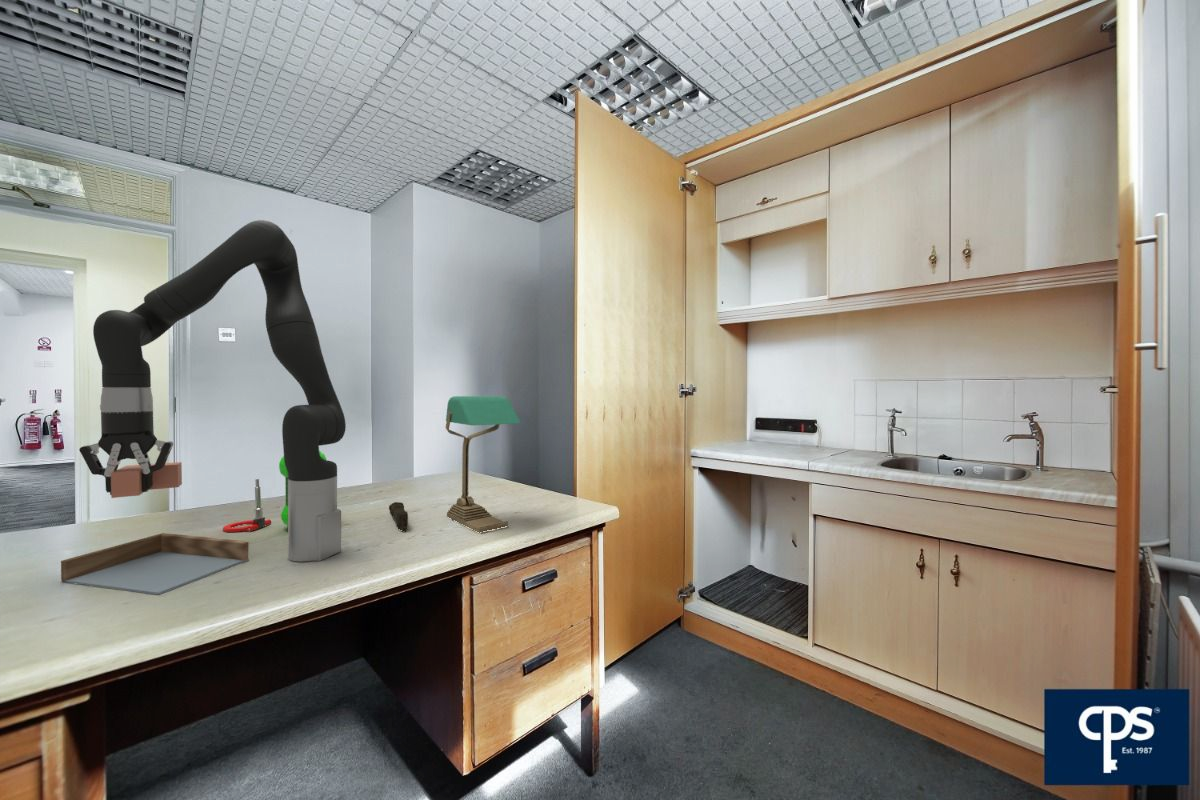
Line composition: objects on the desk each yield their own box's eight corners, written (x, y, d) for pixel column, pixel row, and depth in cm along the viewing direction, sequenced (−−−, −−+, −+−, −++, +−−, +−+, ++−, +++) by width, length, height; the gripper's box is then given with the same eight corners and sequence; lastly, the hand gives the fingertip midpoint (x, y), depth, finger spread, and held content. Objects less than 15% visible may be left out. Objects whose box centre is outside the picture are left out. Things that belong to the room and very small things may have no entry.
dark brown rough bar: (389, 515, 134) (389, 500, 134) (403, 514, 136) (403, 498, 136) (392, 535, 118) (392, 517, 117) (409, 533, 119) (409, 515, 119)
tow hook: (214, 534, 117) (249, 533, 116) (211, 483, 117) (246, 482, 116) (241, 524, 125) (274, 523, 125) (239, 476, 125) (272, 476, 124)
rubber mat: (248, 560, 99) (248, 558, 99) (158, 594, 82) (158, 592, 82) (163, 550, 103) (163, 548, 103) (61, 581, 87) (61, 579, 87)
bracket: (181, 484, 105) (181, 462, 105) (172, 492, 97) (171, 468, 97) (126, 488, 100) (125, 465, 100) (111, 497, 92) (110, 472, 92)
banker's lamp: (485, 510, 141) (486, 395, 140) (522, 526, 126) (524, 397, 125) (434, 519, 131) (435, 395, 130) (469, 538, 115) (470, 397, 114)
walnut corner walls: (248, 560, 99) (248, 541, 99) (158, 594, 82) (157, 572, 82) (163, 550, 103) (163, 532, 103) (61, 581, 87) (60, 560, 87)
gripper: (177, 408, 102) (179, 485, 103) (84, 409, 94) (86, 493, 95) (170, 409, 96) (172, 492, 96) (69, 411, 88) (72, 501, 89)
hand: (129, 492), depth 96 cm, fingers closed on bracket, 4 cm apart
